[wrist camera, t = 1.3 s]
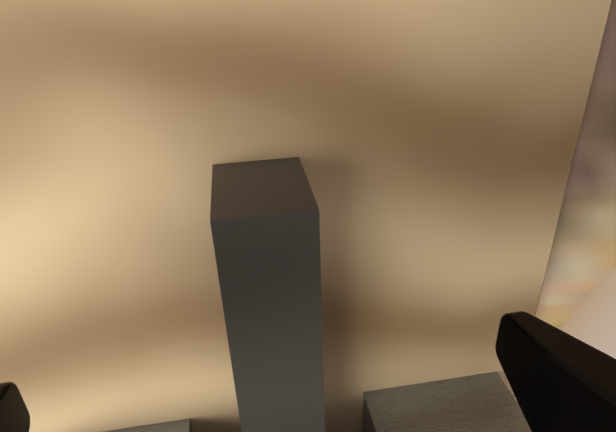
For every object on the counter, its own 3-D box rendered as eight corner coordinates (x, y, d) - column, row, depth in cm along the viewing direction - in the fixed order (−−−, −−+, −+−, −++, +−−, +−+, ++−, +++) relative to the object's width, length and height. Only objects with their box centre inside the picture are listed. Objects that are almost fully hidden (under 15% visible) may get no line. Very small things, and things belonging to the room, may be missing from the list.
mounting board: (468, 516, 24) (479, 542, 23) (95, 587, 22) (89, 619, 21) (642, -298, 10) (691, -327, 9) (-339, -325, 8) (-425, -369, 7)
